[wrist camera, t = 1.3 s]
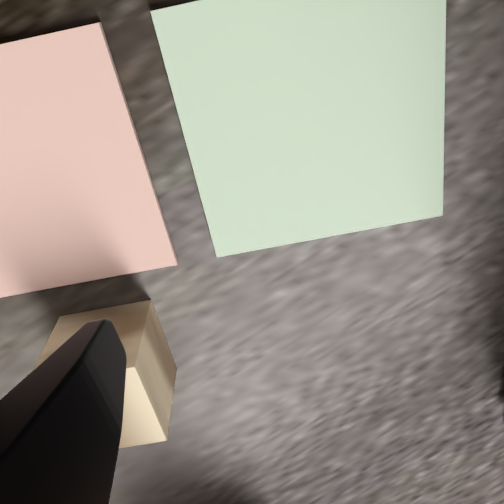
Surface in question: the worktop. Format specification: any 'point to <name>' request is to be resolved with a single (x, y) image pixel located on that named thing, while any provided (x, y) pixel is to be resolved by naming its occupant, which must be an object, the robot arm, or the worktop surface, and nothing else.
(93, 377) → the robot arm
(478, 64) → the worktop surface
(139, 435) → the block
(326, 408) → the worktop surface
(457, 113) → the worktop surface
